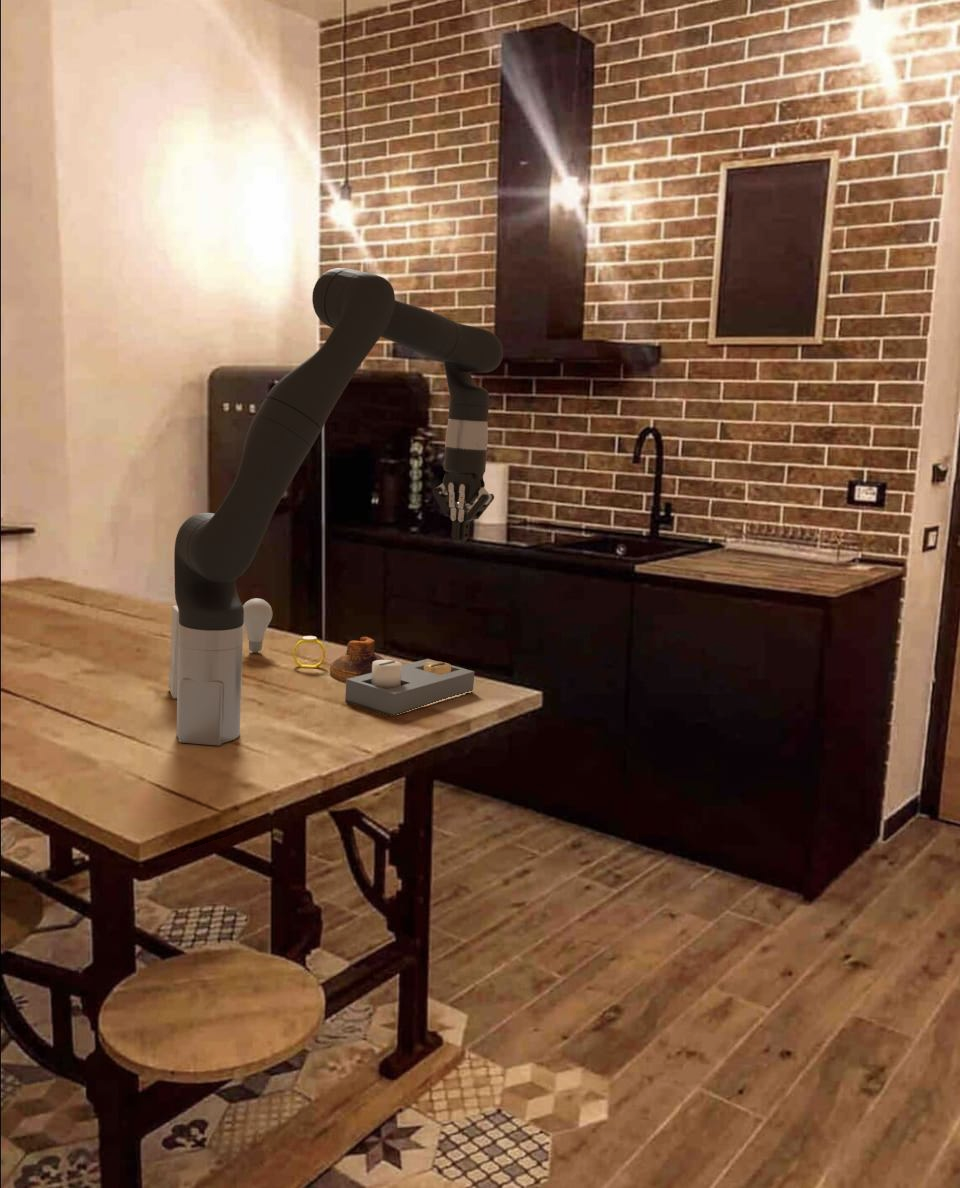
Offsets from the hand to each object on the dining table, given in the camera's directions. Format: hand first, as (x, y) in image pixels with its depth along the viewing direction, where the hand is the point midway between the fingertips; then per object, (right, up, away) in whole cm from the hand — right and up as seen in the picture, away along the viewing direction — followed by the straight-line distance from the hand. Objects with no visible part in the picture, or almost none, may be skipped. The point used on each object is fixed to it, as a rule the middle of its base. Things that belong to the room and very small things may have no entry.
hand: (459, 541), depth 184 cm
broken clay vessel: (-19, -25, +7) cm, 32 cm away
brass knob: (-4, -26, +1) cm, 27 cm away
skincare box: (-45, -27, -12) cm, 53 cm away
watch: (-29, -24, +9) cm, 39 cm away
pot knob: (-12, -25, -11) cm, 30 cm away
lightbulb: (-41, -21, +16) cm, 49 cm away
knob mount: (-8, -28, -5) cm, 29 cm away
